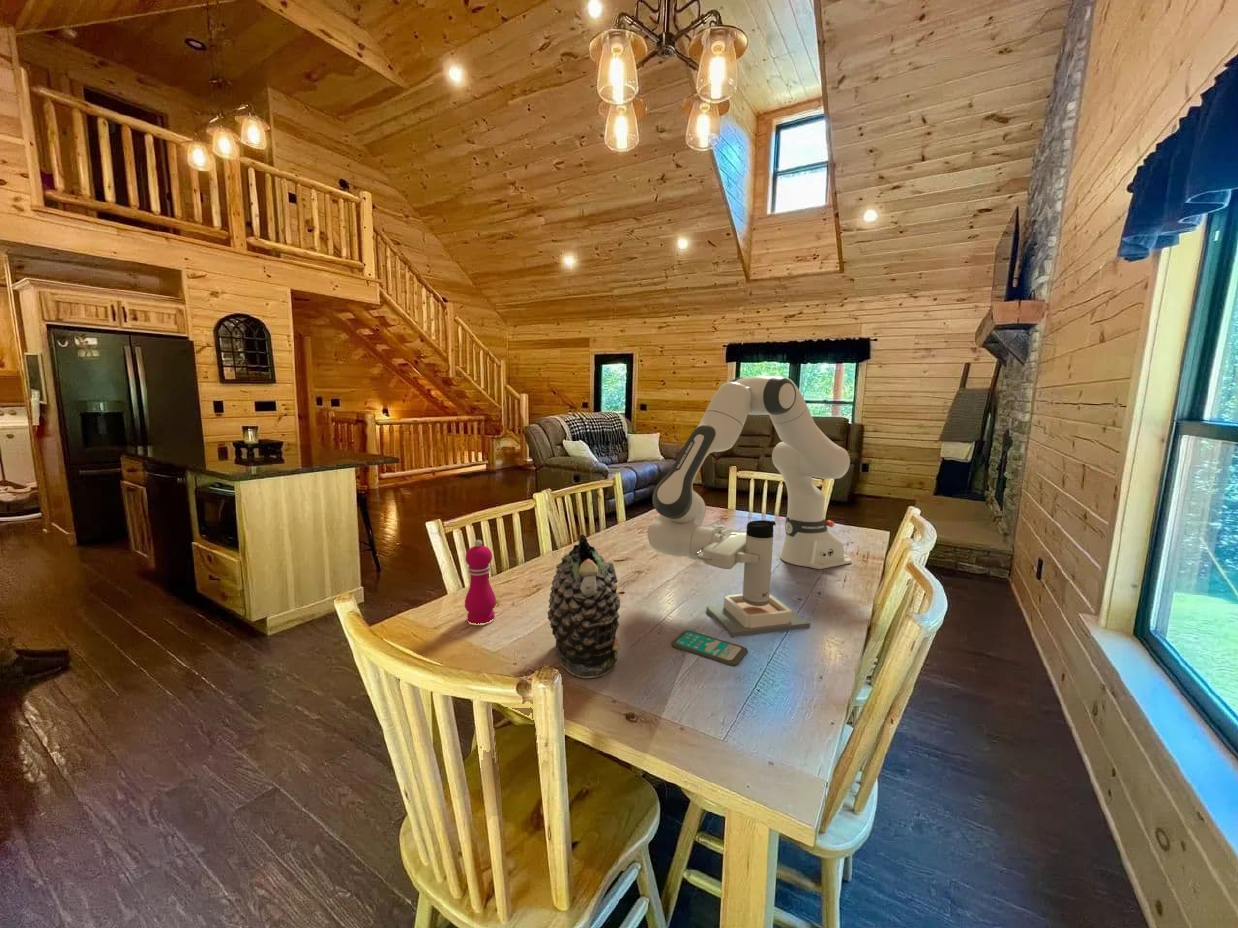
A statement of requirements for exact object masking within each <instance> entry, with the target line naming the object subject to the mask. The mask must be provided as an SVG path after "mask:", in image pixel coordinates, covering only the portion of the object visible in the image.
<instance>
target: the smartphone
mask: <svg viewBox="0 0 1238 928" xmlns="http://www.w3.org/2000/svg"><path fill="white" fill-rule="evenodd" d="M671 647H672V648H674V649H677V650H678V651H682V652H685V653H688V654H692V655H695V656H699V657H701V658H704V659H707V660H711V661H713V662H716V663H719V664H721V665H725V666H729V667H738V666H739V665H740V664H741V663H742V661H743V660H744V659H745V657H746V656H747V655H748V653H749V650H748V648H747V647H746V646H742V645H739V644H736V643H733V642H730V641H726V640H722V639H720V638H716V637H713V636H710V635H706V634H703V633H700V632H697V631H694V630H687V629H686V630H684V631H683V632H681V633H680V634H679V635H678V636H677V637H676V638H675V639H674V640H673V641H671Z"/></svg>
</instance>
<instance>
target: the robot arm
mask: <svg viewBox="0 0 1238 928" xmlns="http://www.w3.org/2000/svg"><path fill="white" fill-rule="evenodd" d="M748 415H750V416H765V415H766V416H767V415H768V416H769V418H770V421H771V423H772V425H773V427H774V429H775V431H776V434H777V436H778V437H779V439H780V440H781V441H780V442H778V443H777V444H776V445H775V447H774V448H773V450H772V453H771V460H772V464H773V466H774V467H775V468H776V469H777V470H778V472H779V474H781V476H782V478H783V480H784V484H785V486H786V487H785V488H786V491H787V514H786V516H785V524H784V529H785V531H784V532H785V534H784V535H785V537H784V541H783V545H782V549H781V551H780V555H779V559H781V560H782V561H784V562H786V563H789V564H791V565H795V566H799V567H800V566H802V567H808V568H811V569H812V568H813V569H816V570H823V569H829V568H834V567H837V566H842V565H847V564H852V559H851V557H850V556H848V555H847V554H845V548H844V543H843V542H842V541H841V539H839V538H838V537H837V536H835V534H833V533H832V532H830V530H828V529H829V528H834V526H835V522H834V521H833V520H831V519H828V520H827V519H825V517H824V515H825V501H826V498H825V494H824V493H823V492H822V490H820V489H819V488H818V487H817V485H815V483H814V480H813V478H816V479H821V480H836V479H841V478H843V477H844V476H845V475H846V474H847V473H848V471H849V468H850V465H851V458H850V455H849V452H848V451H847V449H845V448H844V447H841V446H839V445H838V444H836V443H835V442H834V441H832V440H831V439H830V438H829V437H828V436H827V435H826V434H825V433H824V432H822V430H821V429H820V428H819V427H818V426H817V424H816V423H815V420H814V418H813V417H812V414H811V412H810V409H809V407H808V405H807V402H806V400H805V398H804V396H803V395H802V393H801V390H800V389H799V388H798V386H797V385H796V383H794V381H793V380H792V379H790V378H788V377H784V376H780V375H775V376H772V375H771V376H769V375H755V376H748V377H736V378H734V379H731V380H729V381H727V382H725V383H723V384H722V385H721V386H719V388H718V389H717V390H716V392H715V393H714V395H713V397H712V398H711V400H710V402H709V404H708V406H707V407H706V410H705V412H704V414H703V416H702V418H701V420H700V422H699V424H697V425H698V426H697V427H696V428H695V429H694V430H693V431H692V432H691V434H690V435H689V437H688V439H687V440H686V442H685V443H684V446H683V447H682V449H681V451H680V452H679V454H678V456H677V458H676V460H675V462H674V464H673V465H672V467H671V468H670V470H669V471H668V473H667V474H666V475H665V476H663V478H662V479H661V480H660V481H659V482H658V483H657V484H656V486H655V488H654V490H653V494H652V505H653V508H654V509H655V511H656V513H659V515H658V517H656V518H655V519H654V520H653V521H651V522H650V523H649V525H648V528H647V539H648V543H649V546H650V547H651V548H652V549H653V550H654V551H656V552H658V553H661V554H664V555H668V556H672V557H677V558H681V557H686V558H688V559H690V560H693V561H697V562H702V563H704V564H706V565H707V566H710V567H714V568H718V569H722V570H731V569H733V568H734V567H735V566H736V565H737V564H738V563H741V564H744V563H749V562H751V563H758V561H759V557H760V556H759V555H758V554H753V553H752V554H745V545H746V531H743V530H738V529H732V528H726V525H719V524H718V525H713V526H705V525H704V526H703V525H702V524H703V521H704V518H705V515H706V511H707V508H706V507H707V505H706V502H705V501H704V500H705V499H703V497H701V496H700V494H699V493H697V491H695V490H694V488H693V484H694V481H695V479H696V477H697V475H698V473H699V471H700V469H701V467H702V466H703V464H704V462H705V460H706V458H708V456H709V455H710V454H712V453H713V452H714V453H719V452H725V451H728V450H730V449H731V448H732V447H733V446H734V445H735V443H736V442H737V441H738V439H739V437H740V435H741V433H742V430H743V428H744V425H745V424H746V421H747V419H748ZM828 527H829V528H828Z"/></svg>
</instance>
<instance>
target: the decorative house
mask: <svg viewBox="0 0 1238 928" xmlns="http://www.w3.org/2000/svg"><path fill="white" fill-rule="evenodd" d="M555 567H556V571H555V574H554V576H553V579H552V581H551V585H552V586H551V587H550V593H549V599H548V602H549V605H548V608H549V609H548V611H547V619H548V621H549V622H550V625H549V626H550V628H551V631H552V633H551V634H552V635H553V636H554V639H555V649H556V653H557V656H558V660H559V663H560V665H561V666H562V667H563V669H565V670H566V671H567V672H568V673H570V674H571V675H573V676H576V677H578V678H583V679H593V678H598V677H601V676H605V675H606V674H607V673H609V672H610V671H612V670H613V669H614V668H615V666H616V663H617V661H618V651H619V650H621V649H622V644H621V643H620V641H619V640H618V638H617V637H616V636H617V634H616V633H617V631H618V628H619V626H620V623H619V621H618V620H619V618H620V614H619V612H618V610H619V609H620V607H621V600H620V597H619V595H618V593H617V588H618V585H617V584H616V583H618V576H617V573H616V569H615V566H614V563H613V562H612V561H609V562H608V561H606V560H605V558H604V557H603V556H602V555H600V554H599V553H598V550H597V549H595V547H594V546H592V545H590V544H589V542H588V540H587V537H586V536H585V535H584V534H581V535H580V537H579V539H578V544H574V545H573V547H572V549H571V550H570V551H569V552H568V553H566V554H565V555H563V557H561V562H560V563H558V564H556V566H555Z"/></svg>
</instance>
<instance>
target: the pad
mask: <svg viewBox="0 0 1238 928" xmlns="http://www.w3.org/2000/svg"><path fill="white" fill-rule="evenodd" d="M735 603H736V604H737V605H738V606H739V607H741V608H742V609H743V610H744V611H745V612H746V613H747V614H749V615H751V614H759V613H768V612H776V611H778V610H777V609H776V608H775V607H773V606H772V605H771V604H769V603H768V604H767V605H765V606H753V605H749V604H747V603H745V602H744V601H741V602H735Z"/></svg>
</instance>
